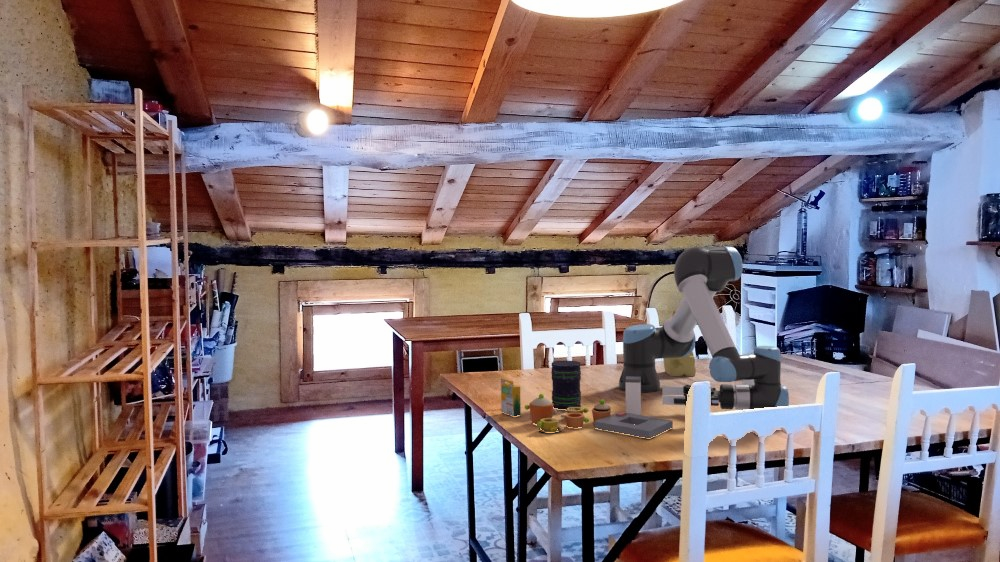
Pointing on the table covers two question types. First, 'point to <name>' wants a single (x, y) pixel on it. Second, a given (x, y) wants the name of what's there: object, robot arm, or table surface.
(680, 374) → the cheese
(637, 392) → the plug
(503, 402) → the crayon box
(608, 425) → the socket
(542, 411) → the toy tea set
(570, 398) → the storage jar
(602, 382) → the table surface
